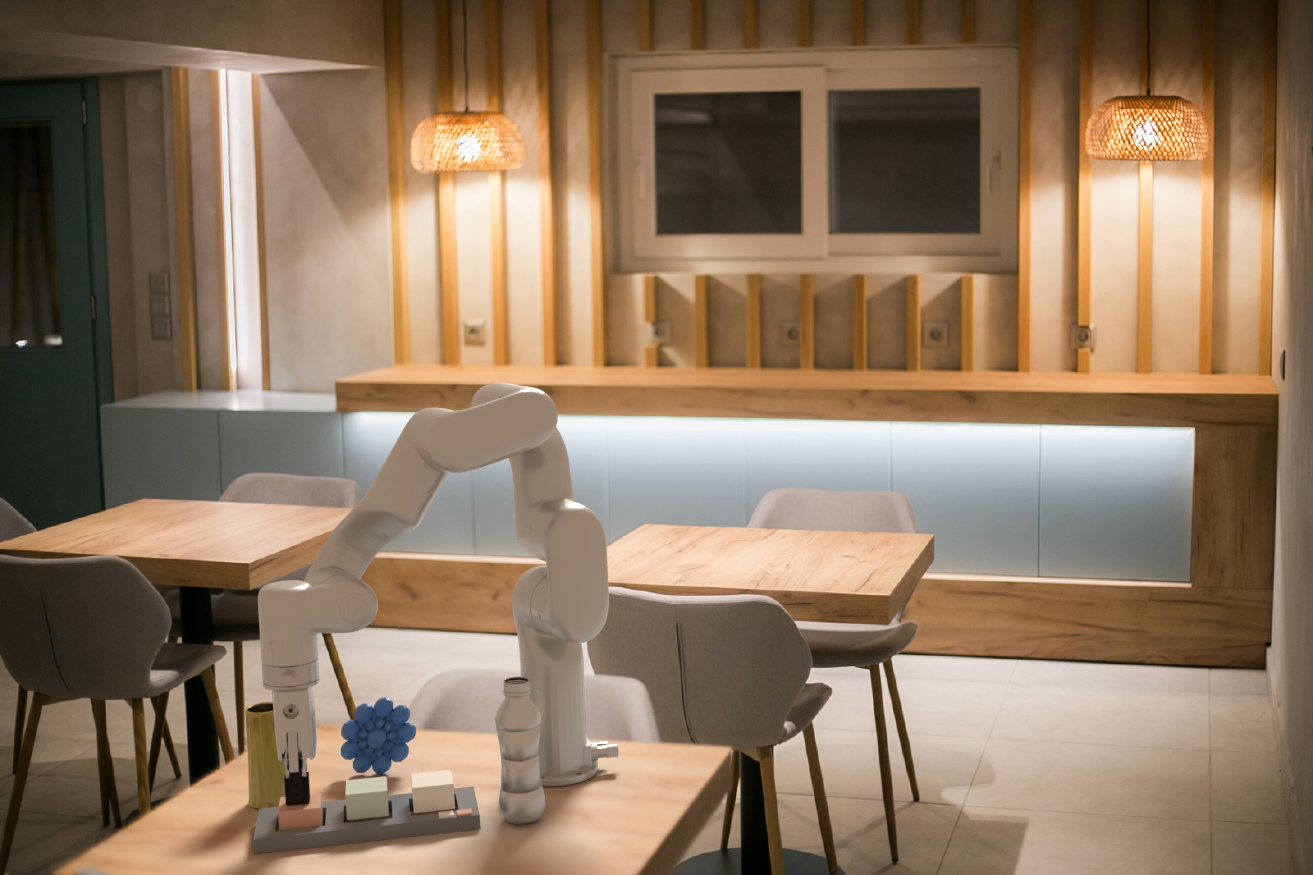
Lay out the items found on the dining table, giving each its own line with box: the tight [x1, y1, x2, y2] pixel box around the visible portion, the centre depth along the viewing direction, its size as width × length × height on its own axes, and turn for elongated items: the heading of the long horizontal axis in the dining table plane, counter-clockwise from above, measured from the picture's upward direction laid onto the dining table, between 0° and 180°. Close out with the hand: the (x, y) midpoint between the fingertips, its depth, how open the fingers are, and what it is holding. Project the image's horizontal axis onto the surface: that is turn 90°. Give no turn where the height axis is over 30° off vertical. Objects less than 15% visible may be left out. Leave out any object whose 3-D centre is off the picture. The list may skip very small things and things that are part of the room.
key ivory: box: [410, 769, 456, 814], centre depth 201 cm, size 6×6×4 cm
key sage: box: [345, 776, 390, 821], centre depth 199 cm, size 6×6×4 cm
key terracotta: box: [278, 792, 324, 830], centre depth 197 cm, size 6×6×4 cm
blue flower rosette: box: [340, 696, 417, 775], centre depth 219 cm, size 12×7×12 cm, turn 93°
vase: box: [245, 701, 285, 810], centre depth 208 cm, size 6×6×14 cm
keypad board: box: [252, 785, 481, 855], centre depth 199 cm, size 30×11×2 cm, turn 102°
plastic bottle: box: [494, 676, 547, 825], centre depth 198 cm, size 6×7×20 cm
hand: (298, 802), depth 197 cm, fingers closed
